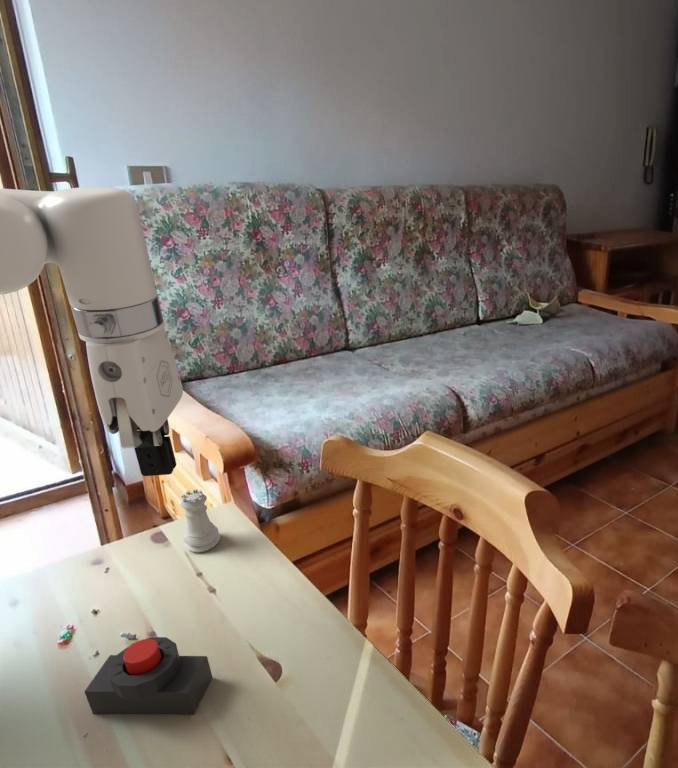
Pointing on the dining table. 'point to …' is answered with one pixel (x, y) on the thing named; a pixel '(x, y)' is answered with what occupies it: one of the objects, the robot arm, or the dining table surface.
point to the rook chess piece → (198, 523)
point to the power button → (142, 657)
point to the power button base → (151, 684)
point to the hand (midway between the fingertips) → (159, 471)
